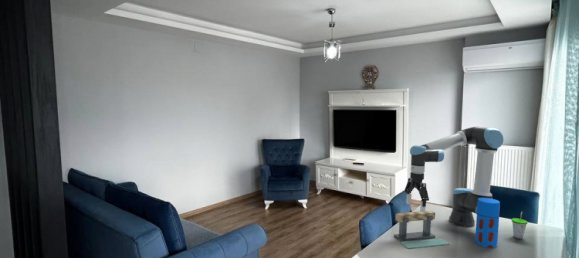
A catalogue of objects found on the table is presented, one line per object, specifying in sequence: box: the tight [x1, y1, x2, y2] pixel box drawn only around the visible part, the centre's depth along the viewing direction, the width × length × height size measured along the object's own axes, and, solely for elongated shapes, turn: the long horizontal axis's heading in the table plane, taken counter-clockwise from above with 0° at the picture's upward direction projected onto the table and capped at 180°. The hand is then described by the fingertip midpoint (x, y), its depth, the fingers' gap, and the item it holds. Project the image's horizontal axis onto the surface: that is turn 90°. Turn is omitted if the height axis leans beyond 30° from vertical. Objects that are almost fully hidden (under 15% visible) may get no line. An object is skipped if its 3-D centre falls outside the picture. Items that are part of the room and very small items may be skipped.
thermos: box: [475, 198, 501, 248], centre depth 180 cm, size 11×11×25 cm
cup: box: [511, 211, 528, 240], centre depth 190 cm, size 8×8×15 cm
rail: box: [394, 210, 436, 223], centre depth 188 cm, size 24×4×4 cm, turn 103°
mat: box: [400, 237, 450, 250], centre depth 180 cm, size 26×7×1 cm, turn 103°
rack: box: [393, 216, 436, 242], centre depth 189 cm, size 23×7×13 cm, turn 103°
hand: (415, 207), depth 188 cm, fingers open, 13 cm apart
